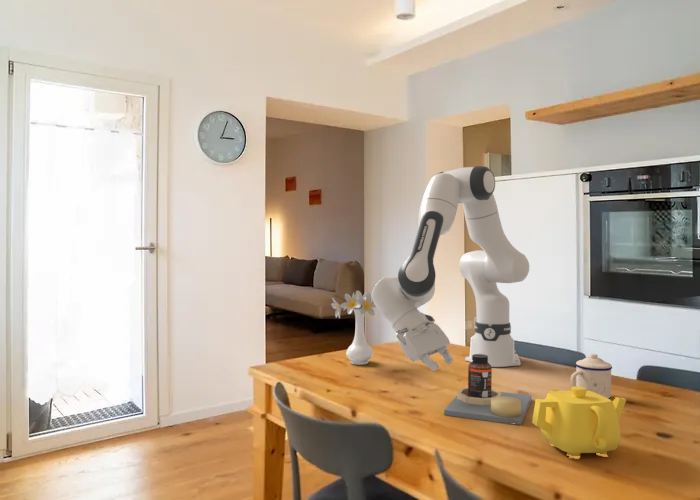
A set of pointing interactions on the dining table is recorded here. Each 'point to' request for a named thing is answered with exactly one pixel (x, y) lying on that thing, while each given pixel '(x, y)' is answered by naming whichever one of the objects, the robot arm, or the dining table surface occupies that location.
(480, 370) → the supplement bottle
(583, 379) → the teacup with lid
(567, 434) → the teapot
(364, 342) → the flower vase
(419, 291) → the robot arm
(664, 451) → the dining table surface
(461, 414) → the carrier plate
